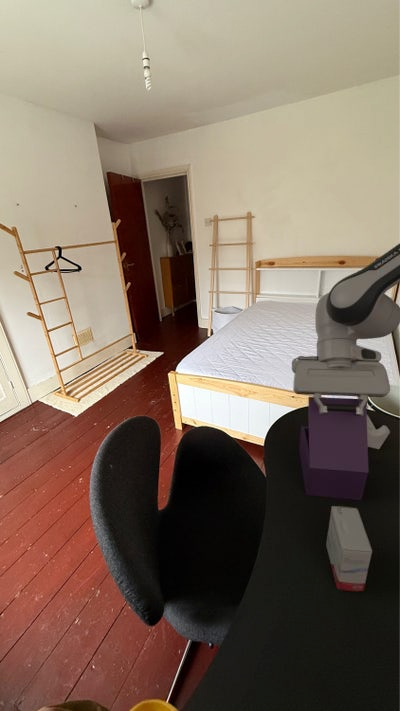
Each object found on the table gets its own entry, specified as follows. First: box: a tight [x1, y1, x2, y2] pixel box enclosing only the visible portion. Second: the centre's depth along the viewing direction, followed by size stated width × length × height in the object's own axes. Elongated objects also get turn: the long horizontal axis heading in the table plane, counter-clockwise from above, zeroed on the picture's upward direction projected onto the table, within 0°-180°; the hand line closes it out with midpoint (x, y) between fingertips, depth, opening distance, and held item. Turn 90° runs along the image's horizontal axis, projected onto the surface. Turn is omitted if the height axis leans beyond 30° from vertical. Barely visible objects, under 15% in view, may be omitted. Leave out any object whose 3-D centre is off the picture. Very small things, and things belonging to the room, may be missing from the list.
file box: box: [298, 425, 368, 501], centre depth 77 cm, size 16×13×9 cm
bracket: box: [367, 414, 391, 450], centre depth 90 cm, size 13×7×8 cm, turn 171°
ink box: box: [325, 505, 373, 592], centre depth 56 cm, size 9×5×12 cm, turn 171°
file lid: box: [307, 396, 370, 474], centre depth 67 cm, size 16×13×5 cm
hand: (341, 415), depth 66 cm, fingers closed on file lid, 6 cm apart
